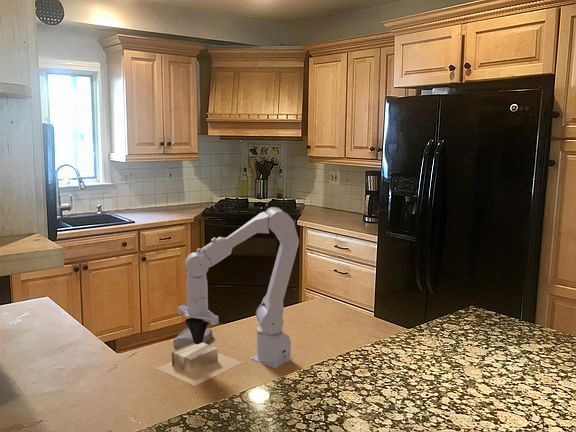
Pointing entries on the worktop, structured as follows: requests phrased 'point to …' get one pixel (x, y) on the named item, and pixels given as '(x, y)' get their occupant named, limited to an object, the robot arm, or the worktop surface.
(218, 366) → the beige square board
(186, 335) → the stone block
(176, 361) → the maple block
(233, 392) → the worktop surface
